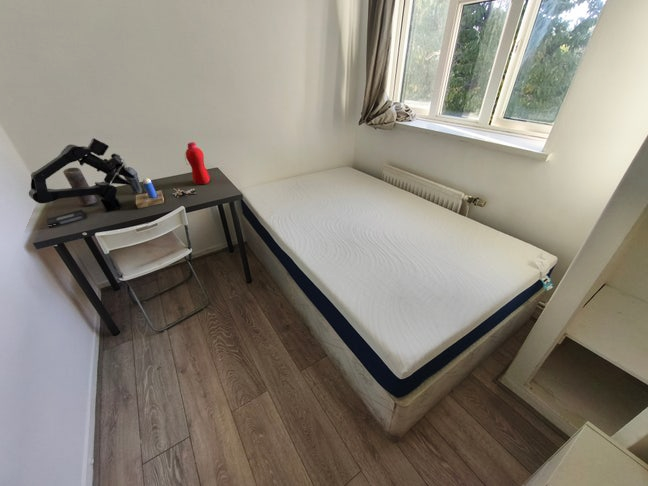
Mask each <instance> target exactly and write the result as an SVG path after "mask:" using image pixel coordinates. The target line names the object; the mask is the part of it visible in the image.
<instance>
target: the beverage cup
mask: <svg viewBox="0 0 648 486" xmlns="http://www.w3.org/2000/svg"><path fill="white" fill-rule="evenodd" d="M122 162H123V164H124V165H125V168H126V170H128V171H129V172H130V173H131V174H132V175H133V176H134V178H129V177H126V176H123V179H125V180H127V181H128V182H130V183H131V184H130V185H128V186H129V188H130V189H131V190H132V192H133V194H134V195H140V194H143V188H142V185H141V182H140V180H139V179H140V178H139V176H138V172H137V170H136V169H135V168H133V167H131V166H128V165H127V163H126V161H125V159H122Z"/></svg>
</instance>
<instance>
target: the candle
mask: <svg viewBox="0 0 648 486" xmlns="http://www.w3.org/2000/svg"><path fill="white" fill-rule="evenodd" d="M62 173H63V175H64V176H65V178H66V180H67V182H68V184H69V186H70V188H79V187H90V185H89V183H88V182H87V181H88V180H87V179H86V178H85V175H84V174H83V172H82V170H81V168H79V167H68V168H66V169H64V170H63V171H62ZM76 198H77V200H78V201H79V203H80V205H81V206H83V207H86V206H90V205H94V204H96V203H97V201H98V200H97V198H96V195H88V196H79V197H76Z"/></svg>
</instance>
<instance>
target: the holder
mask: <svg viewBox="0 0 648 486" xmlns="http://www.w3.org/2000/svg"><path fill="white" fill-rule="evenodd" d="M155 192H156V194H157V197H155V198H149V196H148V193H147V192H146V193H139V194H135V205H136V208H137V209H143V208H148V207H152V206H156V205H161V204H165V198H164V193H163V191H162V190H161V189H160V190H155Z"/></svg>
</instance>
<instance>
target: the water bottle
mask: <svg viewBox="0 0 648 486" xmlns="http://www.w3.org/2000/svg"><path fill="white" fill-rule="evenodd" d="M186 145H187V149H186V151H185V158H184V160H185V161H184V162H185V163H186V165H187V166H189V165H190V168H191V175H192V176H191V177H192V181H193V183H194V184H195V185H198V186H199V185H207V184H208V183H210V181H211V177H210V174H209V171H208V169H207V168H206V166H205V162H204V161H205V160H204V159H205V158H204V153H203V151H202V149H201V148H199V147H197V144H196V142H193V141H192V142H189V143H187V144H186ZM187 162H188V163H187Z"/></svg>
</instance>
